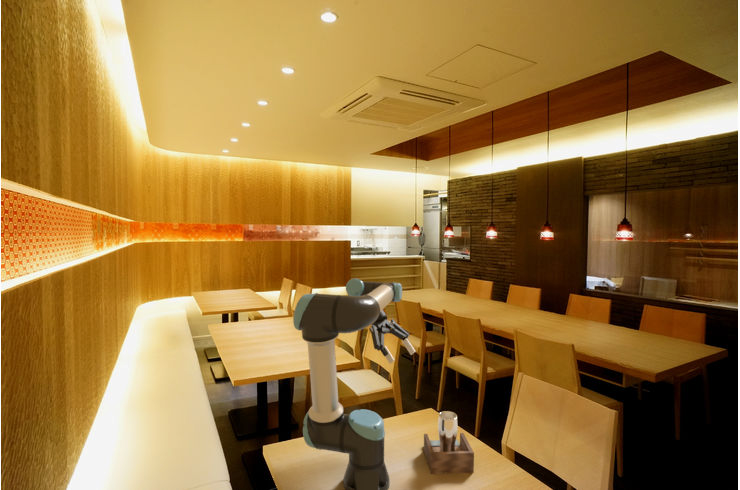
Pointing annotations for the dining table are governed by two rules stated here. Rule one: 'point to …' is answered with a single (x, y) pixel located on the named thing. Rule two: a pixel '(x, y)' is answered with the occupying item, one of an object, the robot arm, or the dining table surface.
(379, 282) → the robot arm
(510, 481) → the dining table surface
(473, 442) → the dining table surface
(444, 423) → the beer glass
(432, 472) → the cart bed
